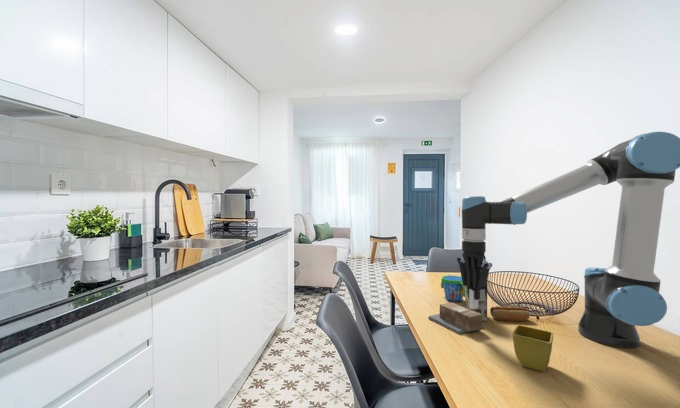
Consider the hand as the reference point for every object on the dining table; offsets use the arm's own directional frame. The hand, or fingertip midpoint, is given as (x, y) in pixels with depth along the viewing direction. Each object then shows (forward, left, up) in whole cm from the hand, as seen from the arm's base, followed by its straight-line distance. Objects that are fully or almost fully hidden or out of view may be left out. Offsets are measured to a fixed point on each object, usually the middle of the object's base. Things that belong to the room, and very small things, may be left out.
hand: (473, 307), depth 102 cm
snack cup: (+29, -21, -9) cm, 37 cm away
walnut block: (-1, 0, -5) cm, 5 cm away
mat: (+8, 0, -8) cm, 12 cm away
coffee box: (+10, -13, -9) cm, 19 cm away
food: (+2, -22, -9) cm, 24 cm away
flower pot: (-22, +3, -9) cm, 24 cm away
